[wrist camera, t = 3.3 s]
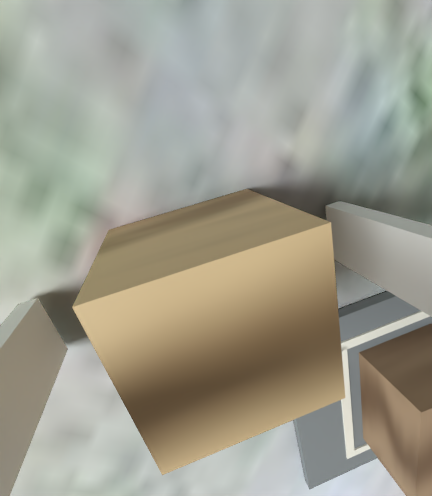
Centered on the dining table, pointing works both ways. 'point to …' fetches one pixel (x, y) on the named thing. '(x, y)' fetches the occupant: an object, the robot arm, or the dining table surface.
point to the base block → (400, 407)
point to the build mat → (351, 389)
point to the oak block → (216, 322)
